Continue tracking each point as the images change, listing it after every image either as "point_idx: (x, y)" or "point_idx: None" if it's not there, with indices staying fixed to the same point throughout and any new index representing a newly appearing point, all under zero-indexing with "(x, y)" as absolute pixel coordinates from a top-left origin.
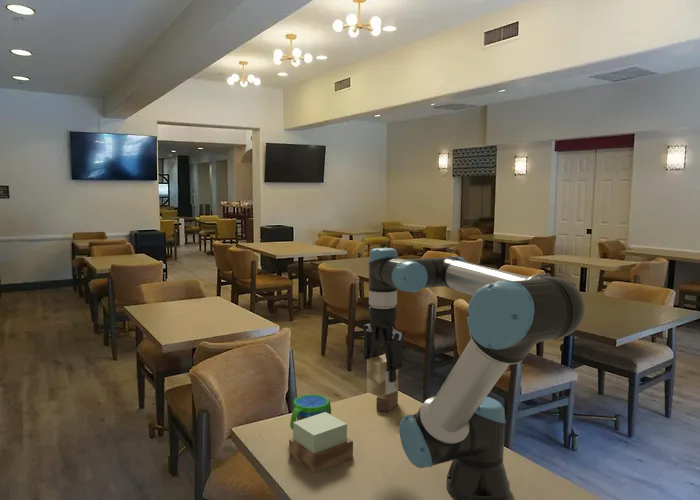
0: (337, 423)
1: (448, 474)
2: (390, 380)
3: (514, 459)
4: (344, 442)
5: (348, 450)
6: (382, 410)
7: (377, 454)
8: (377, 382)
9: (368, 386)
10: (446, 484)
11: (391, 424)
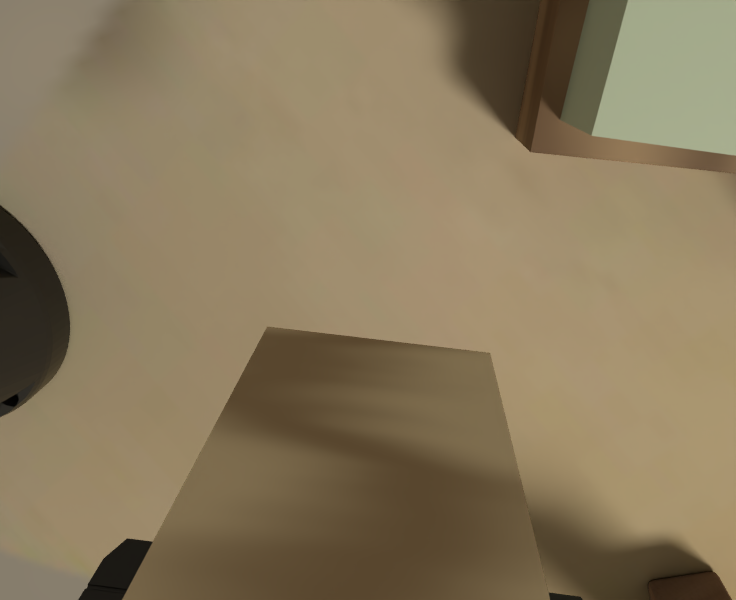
0: (663, 84)
1: (6, 265)
2: (140, 560)
3: (32, 545)
4: (563, 96)
5: (529, 106)
6: (681, 579)
7: (429, 244)
8: (263, 430)
9: (466, 389)
10: (18, 231)
11: (563, 505)
